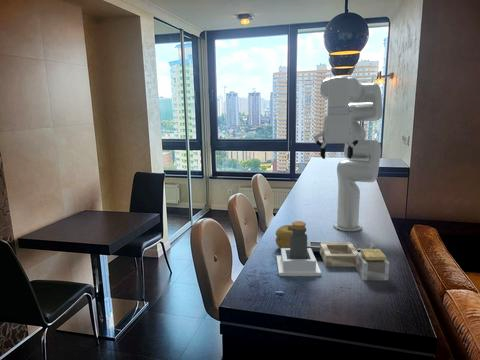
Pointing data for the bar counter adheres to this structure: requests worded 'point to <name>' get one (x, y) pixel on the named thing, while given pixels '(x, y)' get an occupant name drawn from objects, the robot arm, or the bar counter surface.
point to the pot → (283, 236)
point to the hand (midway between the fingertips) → (336, 158)
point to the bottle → (298, 241)
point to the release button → (373, 255)
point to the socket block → (353, 261)
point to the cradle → (297, 264)
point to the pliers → (367, 247)
